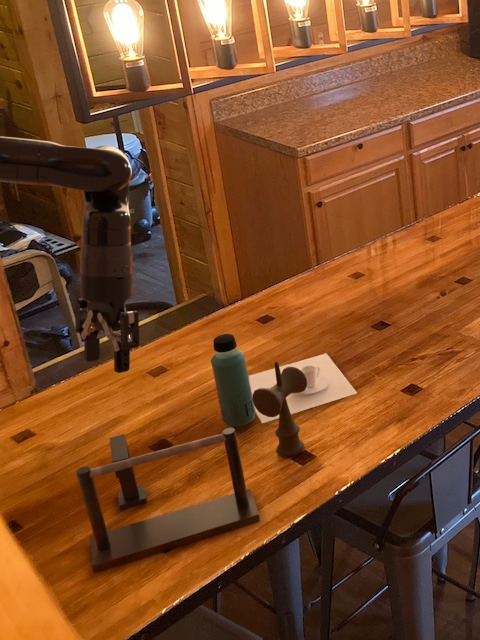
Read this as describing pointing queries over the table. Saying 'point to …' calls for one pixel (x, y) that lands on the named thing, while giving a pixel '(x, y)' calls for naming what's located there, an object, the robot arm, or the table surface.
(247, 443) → the table surface
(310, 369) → the teacup and saucer
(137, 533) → the rail stand
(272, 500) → the table surface
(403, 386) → the table surface
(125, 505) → the hook hanger
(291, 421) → the kendama
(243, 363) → the beverage bottle
